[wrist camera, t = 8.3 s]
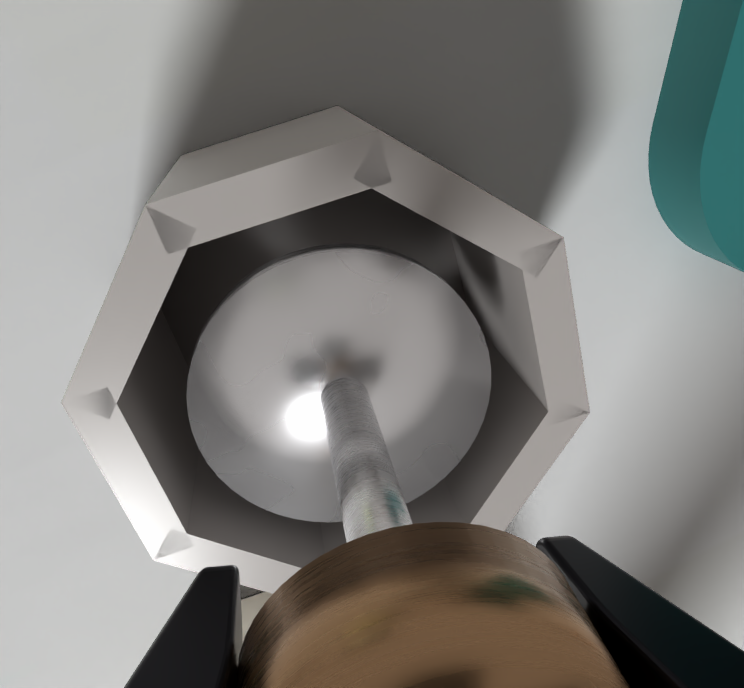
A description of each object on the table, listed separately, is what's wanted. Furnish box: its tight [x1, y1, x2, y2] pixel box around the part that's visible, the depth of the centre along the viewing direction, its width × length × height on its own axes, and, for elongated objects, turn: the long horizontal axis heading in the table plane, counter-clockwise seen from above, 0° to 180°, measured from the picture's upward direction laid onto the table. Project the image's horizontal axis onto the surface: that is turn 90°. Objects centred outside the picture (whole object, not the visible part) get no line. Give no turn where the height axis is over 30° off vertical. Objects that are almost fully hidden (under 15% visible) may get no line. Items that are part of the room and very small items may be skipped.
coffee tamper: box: [186, 243, 630, 688], centre depth 9 cm, size 6×6×8 cm
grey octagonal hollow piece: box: [61, 106, 590, 594], centre depth 14 cm, size 11×9×5 cm
